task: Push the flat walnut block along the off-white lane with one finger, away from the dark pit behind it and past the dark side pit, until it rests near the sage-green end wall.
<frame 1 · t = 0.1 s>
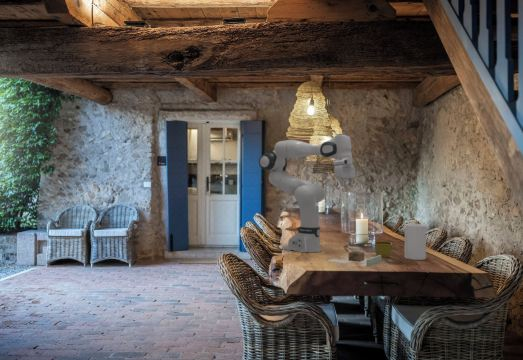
hand: (346, 186, 262), 39 cm above the table, tool pointing down, fingers open, 8 cm apart
flower pot: (382, 259, 250), on the table
walnut block: (356, 260, 238), point 1 cm above the table, touching trap deck
trap deck: (356, 263, 238), on the table
cup: (414, 258, 255), on the table
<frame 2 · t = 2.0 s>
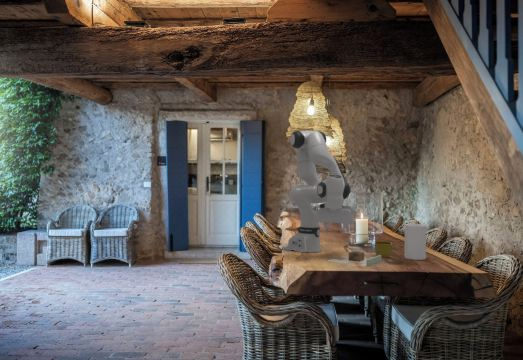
hand: (335, 231, 245), 15 cm above the table, tool pointing down, fingers open, 8 cm apart
nothing on the table moved.
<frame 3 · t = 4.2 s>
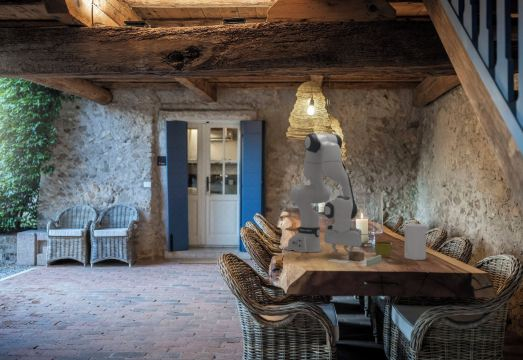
hand: (342, 253, 242), 4 cm above the table, tool pointing down, fingers open, 6 cm apart
walnut block: (356, 260, 238), point 1 cm above the table, touching gripper, trap deck
everything else where it was.
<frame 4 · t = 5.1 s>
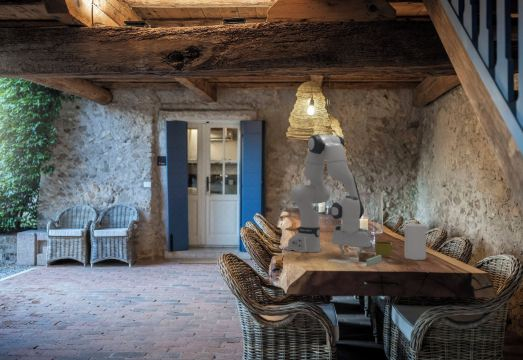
hand: (350, 254, 240), 4 cm above the table, tool pointing down, fingers open, 8 cm apart
walnut block: (366, 261, 235), point 1 cm above the table, touching gripper, trap deck
everything else where it was.
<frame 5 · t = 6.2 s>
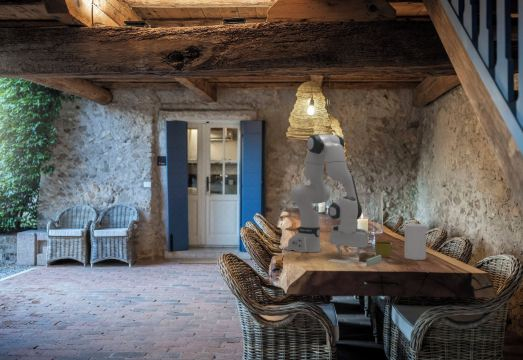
hand: (348, 254, 241), 4 cm above the table, tool pointing down, fingers open, 8 cm apart
walnut block: (366, 261, 235), point 1 cm above the table, touching trap deck
everything else where it was.
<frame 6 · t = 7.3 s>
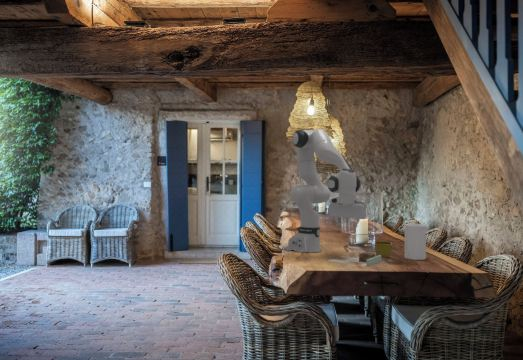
hand: (346, 226, 241), 18 cm above the table, tool pointing down, fingers open, 8 cm apart
nothing on the table moved.
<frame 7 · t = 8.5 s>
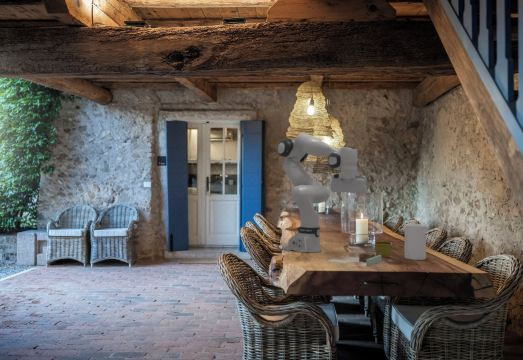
hand: (348, 200, 253), 31 cm above the table, tool pointing down, fingers open, 8 cm apart
nothing on the table moved.
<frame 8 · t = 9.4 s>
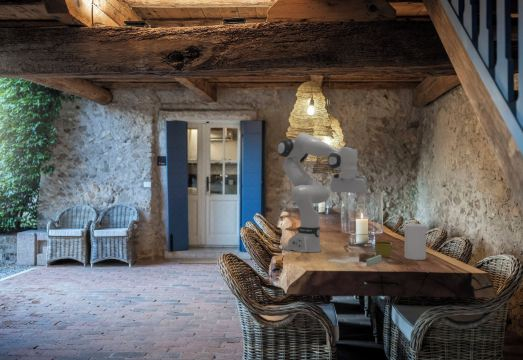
hand: (348, 200, 253), 31 cm above the table, tool pointing down, fingers open, 8 cm apart
nothing on the table moved.
at the end: walnut block 0.1 cm from the target spot on the trap deck, point 1.5 cm above the trap deck's base; walnut block tilted 0° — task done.
